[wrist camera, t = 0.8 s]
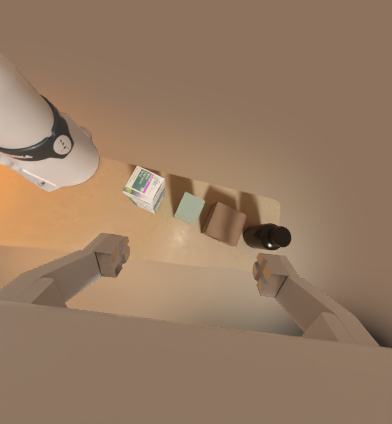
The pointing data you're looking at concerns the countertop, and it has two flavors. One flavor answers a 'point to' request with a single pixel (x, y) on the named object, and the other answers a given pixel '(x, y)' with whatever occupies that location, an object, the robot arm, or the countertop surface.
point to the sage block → (189, 208)
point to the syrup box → (145, 189)
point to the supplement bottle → (267, 236)
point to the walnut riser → (224, 224)
